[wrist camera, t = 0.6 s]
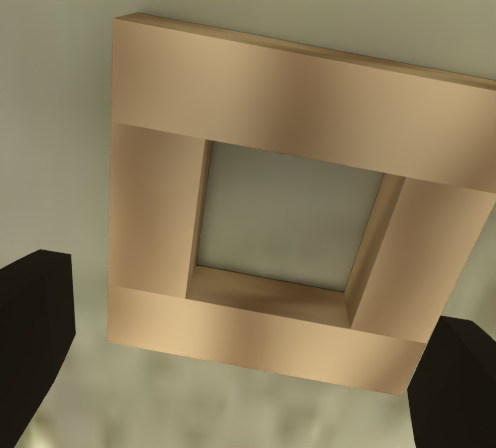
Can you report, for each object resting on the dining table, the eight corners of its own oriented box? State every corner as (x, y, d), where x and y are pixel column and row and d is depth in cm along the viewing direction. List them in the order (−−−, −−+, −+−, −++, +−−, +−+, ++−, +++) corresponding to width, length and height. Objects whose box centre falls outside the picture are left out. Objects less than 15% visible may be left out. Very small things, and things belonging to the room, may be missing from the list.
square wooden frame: (510, 83, 16) (544, 100, 14) (390, 355, 23) (401, 396, 21) (137, 12, 16) (113, 18, 14) (125, 306, 23) (106, 341, 20)
